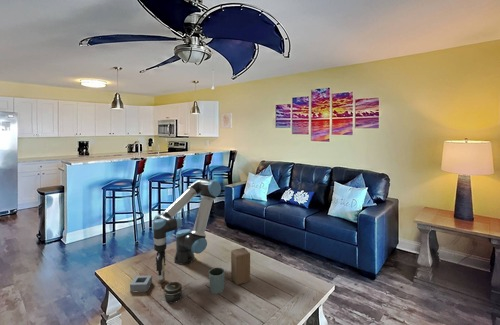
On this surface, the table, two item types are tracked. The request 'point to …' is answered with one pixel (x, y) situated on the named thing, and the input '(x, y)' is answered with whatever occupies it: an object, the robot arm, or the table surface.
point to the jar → (173, 291)
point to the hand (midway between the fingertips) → (161, 277)
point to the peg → (163, 272)
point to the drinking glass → (216, 280)
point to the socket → (140, 283)
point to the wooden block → (240, 266)
